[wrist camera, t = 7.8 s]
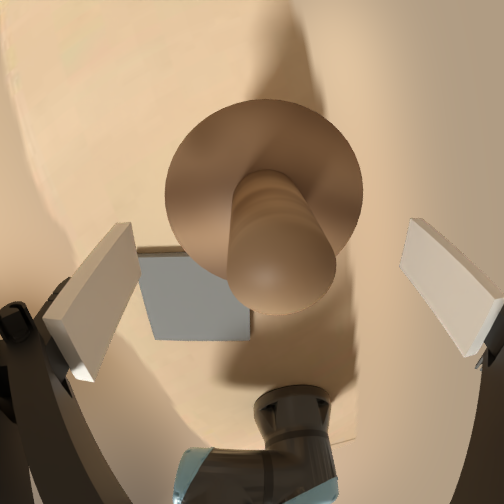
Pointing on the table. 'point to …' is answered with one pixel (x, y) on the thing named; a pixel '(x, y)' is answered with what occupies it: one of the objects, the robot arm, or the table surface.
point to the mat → (189, 301)
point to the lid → (265, 201)
